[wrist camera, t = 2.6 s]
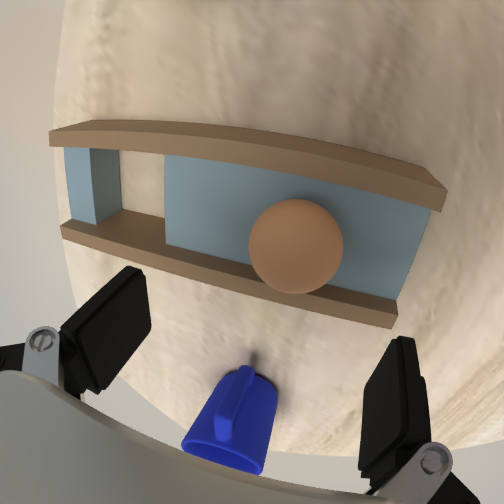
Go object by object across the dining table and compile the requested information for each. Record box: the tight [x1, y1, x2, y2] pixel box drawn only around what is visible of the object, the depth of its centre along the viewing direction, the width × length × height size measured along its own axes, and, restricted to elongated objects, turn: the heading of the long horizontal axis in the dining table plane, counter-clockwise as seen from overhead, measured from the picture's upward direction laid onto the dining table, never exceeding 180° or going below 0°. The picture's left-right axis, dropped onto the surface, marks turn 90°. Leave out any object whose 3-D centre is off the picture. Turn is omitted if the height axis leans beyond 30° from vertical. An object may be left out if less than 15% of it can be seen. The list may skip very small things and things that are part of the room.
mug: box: [181, 365, 277, 475], centre depth 27 cm, size 8×12×10 cm
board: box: [49, 120, 448, 329], centre depth 19 cm, size 26×9×5 cm, turn 83°
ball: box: [248, 199, 343, 294], centre depth 15 cm, size 5×5×5 cm
